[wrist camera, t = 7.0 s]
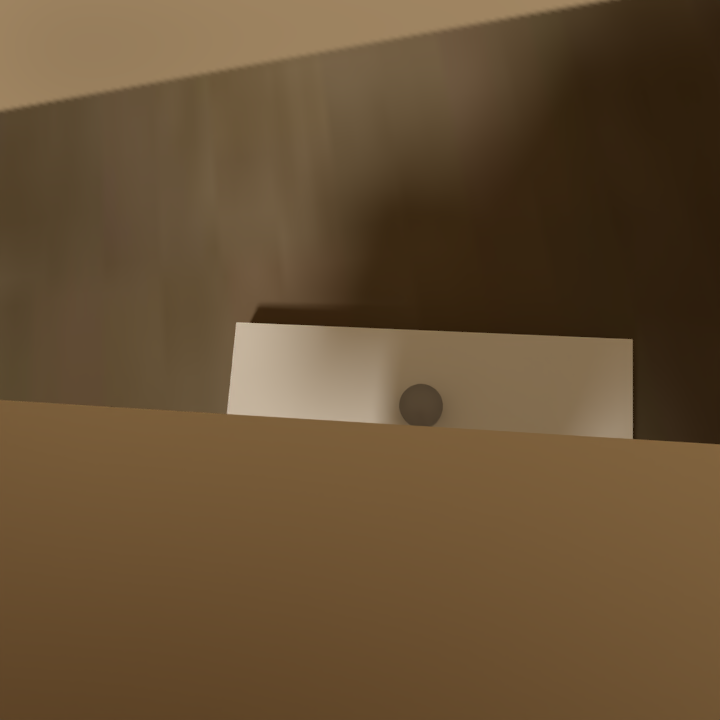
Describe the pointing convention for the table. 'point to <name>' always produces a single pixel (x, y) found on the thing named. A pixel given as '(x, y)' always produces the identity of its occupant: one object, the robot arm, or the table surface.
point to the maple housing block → (351, 570)
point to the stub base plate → (435, 379)
